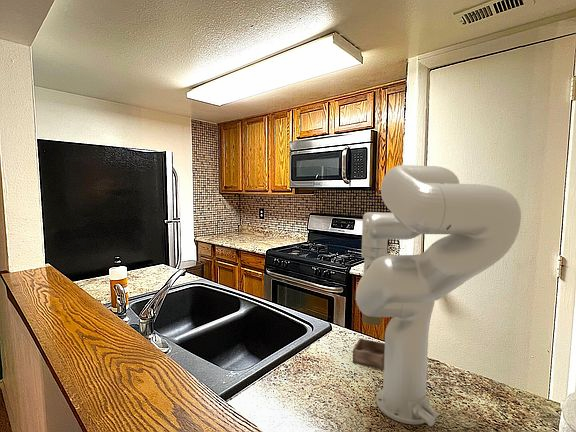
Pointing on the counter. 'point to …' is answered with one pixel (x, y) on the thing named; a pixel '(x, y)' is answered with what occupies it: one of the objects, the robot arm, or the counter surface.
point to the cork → (371, 320)
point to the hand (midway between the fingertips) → (372, 310)
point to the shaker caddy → (369, 354)
